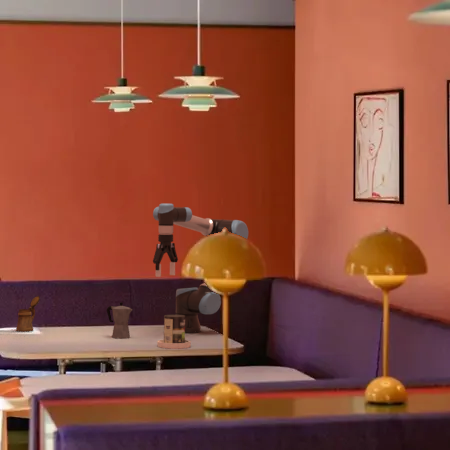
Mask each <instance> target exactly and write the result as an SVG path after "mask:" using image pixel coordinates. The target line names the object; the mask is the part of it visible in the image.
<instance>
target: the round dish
mask: <svg viewBox="0 0 450 450" xmlns="http://www.w3.org/2000/svg"><path fill="white" fill-rule="evenodd" d="M191 343H192V341H191V340H188V339H185V343H164V339H160V340H159V339H158V340H157V348H160V349H170V350H171V349H173V350H174V349H177V350H179V349H180V350H181V349H188V348H191Z"/></svg>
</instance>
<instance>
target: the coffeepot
mask: <svg viewBox="0 0 450 450" xmlns="http://www.w3.org/2000/svg"><path fill="white" fill-rule="evenodd" d="M111 311H112V315H111ZM131 312H133V308H131V307H128V306H125V305H124V302H122V301H120V302H119V305H118V306H112V305H109V306H108V307H107V308H106V313H107V317H108V321H109V322H110V323H114V325H113V328H112V329H113V330H112V335H111V338H113V339H117V340H118V339H119V340H121V339H122V340H123V339H130V338H131V336H130V335H131V334H130V327H129V323H128V322H129V320H130V314H131ZM112 318H113V320H112Z"/></svg>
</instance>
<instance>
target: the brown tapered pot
mask: <svg viewBox="0 0 450 450" xmlns="http://www.w3.org/2000/svg"><path fill="white" fill-rule="evenodd" d="M39 303H40V295H37V296H35V297H34V298H32V300H31V302H30V306H29V307H28V308H21V309H20V308H19V309H18V313H17V315H18V317H17V324H16V328H15V331H16V332H20V333H21V332H23V333H27V332H33V331H34V326H33V321H34V318H35V316H36V310H35V307H37V305H38V304H39Z"/></svg>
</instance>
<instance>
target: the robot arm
mask: <svg viewBox="0 0 450 450" xmlns="http://www.w3.org/2000/svg"><path fill="white" fill-rule="evenodd" d="M152 217H153V219H154V220H155V221H158V235H157V237H158V239H157V240H158V242H159V243H157V244H156V249H155V251H154V256H153V259H152V262H153V264H155V277H156V278H162V264H161V262H162V260H163V257H164V255H165V254H166V253H167V255H168V258H169V260H170V261H169V276H176V263H178V260H179V259H178V254H177V250H176V244H175V243H174V225H175V226H178V227H182V228H184V229H185V228H186V229H189V230H192V231H195V232H198V233H201V235H203V236H205V237H208V236H207V235H210V234H214V233H218V232H221V231H222V229H223V228H224V227H226V228H227V229H228V231H229V232H231V233H234V234H237V235H240V236H242V237H244V238H246V239H247V240H248V238H249V229H248V226H247V224H246V223H245V222H244V221H242V220H238V219H223V218H222V219H217V218H216V219H213V218H210V217H206V218H203V217H200V216H196V215H193V212H192V209H191V208H190V207H188V206H187V207H185V206H182V207H181V206H180V207H179V206H174V204H173V203H160V204H158V206H156V207H155V208H154V209H153V212H152ZM221 304H222V298H221V296H220V295H219V294H216V293H214V292H213V291H211V290H210V289H209V288H208V287H207V285H206V284H205V283H204V282H203V283H201V284H200V285H199V287H186V288H185V287H184V288H177V289H176V293H175V315H185V334H186V333H187V334H189V333H193V334H194V333H201V331H202V328H201V323H200V321H199V315H198V314H203V315H214V314H216V313H217V312H218V311H219V309H220V307H221Z"/></svg>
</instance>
